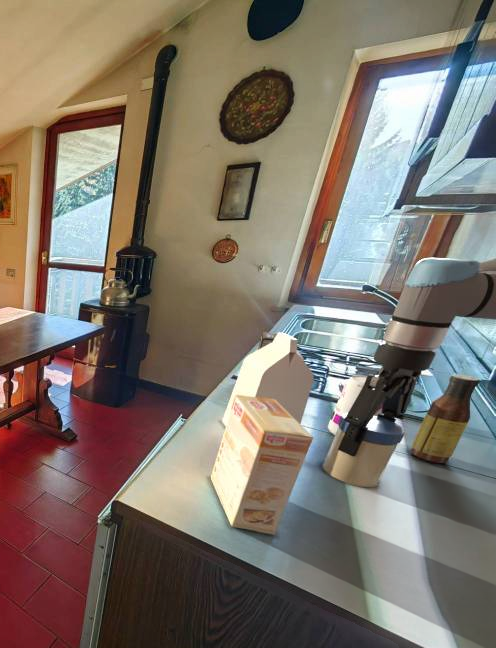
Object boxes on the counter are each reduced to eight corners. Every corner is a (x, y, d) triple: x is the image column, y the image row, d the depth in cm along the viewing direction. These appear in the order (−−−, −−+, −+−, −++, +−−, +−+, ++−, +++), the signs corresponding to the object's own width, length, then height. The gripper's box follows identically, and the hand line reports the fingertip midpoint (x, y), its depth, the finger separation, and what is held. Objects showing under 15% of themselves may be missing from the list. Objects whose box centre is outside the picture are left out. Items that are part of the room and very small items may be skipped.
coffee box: (249, 375, 138) (262, 331, 131) (270, 379, 134) (285, 334, 128) (248, 383, 131) (262, 337, 124) (271, 388, 127) (287, 340, 121)
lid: (354, 418, 85) (358, 409, 84) (410, 439, 77) (415, 429, 76) (327, 426, 82) (331, 416, 81) (384, 448, 74) (389, 438, 73)
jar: (382, 477, 83) (406, 427, 78) (372, 493, 78) (397, 441, 73) (329, 457, 89) (348, 411, 85) (316, 471, 84) (337, 422, 80)
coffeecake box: (276, 536, 67) (316, 437, 59) (230, 527, 68) (262, 430, 61) (247, 484, 80) (276, 398, 72) (209, 477, 82) (233, 393, 74)
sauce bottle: (455, 463, 88) (501, 382, 80) (432, 465, 87) (477, 384, 79) (420, 448, 94) (461, 371, 86) (399, 450, 93) (438, 373, 85)
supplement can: (375, 445, 95) (402, 389, 89) (334, 439, 97) (357, 384, 92) (359, 430, 102) (382, 377, 96) (321, 424, 104) (342, 372, 99)
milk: (221, 421, 105) (248, 327, 95) (269, 426, 103) (301, 331, 93) (239, 444, 94) (271, 341, 84) (292, 450, 92) (332, 345, 82)
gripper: (413, 334, 79) (368, 430, 88) (350, 345, 72) (308, 449, 80) (465, 345, 73) (412, 447, 82) (402, 357, 65) (350, 469, 74)
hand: (360, 448), depth 81 cm, fingers closed on lid, 9 cm apart
